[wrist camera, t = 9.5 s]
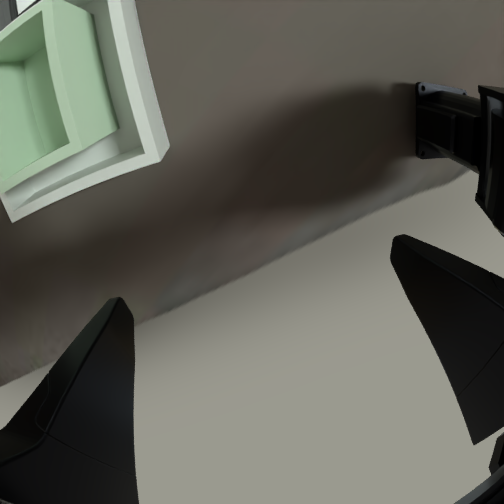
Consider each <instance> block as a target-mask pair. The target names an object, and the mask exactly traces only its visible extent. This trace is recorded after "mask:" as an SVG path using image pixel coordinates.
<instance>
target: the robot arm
mask: <svg viewBox="0 0 504 504" xmlns="http://www.w3.org/2000/svg"><path fill="white" fill-rule="evenodd" d="M421 86H422V90H421ZM415 90H416V156H417V157H418V158H420V159H432V158H450V159H452V160H454V161H456V162H458V163H459V164H461V165H463V166H465V167H467V168H468V169H470V170H472V171H474V172H476V173H477V174H479V181H478V190H477V193H476V196H475V201H476V202H477V204H478V205H479V206H480V207H481V208H482V209H483V211H484V212H485V214H486V215H487V216H488V218H489V219H490V220H491V221H492V223H493V225H494V227H495V228H496V229H497V230H498V231H499V232H500V233H501V235H502V236H503V237H504V88H500V87H492V86H483V85H478V92H479V93H480V99H477V98H474V97H470V96H467V92H466V91H465V90H463V89H458V88H453V87H448V86H443V85H437V84H431V83H424V82H417V83H416V86H415ZM421 151H422V153H421ZM390 260H391V264H392V266H393V268H394V270H395V272H396V274H397V276H398V278H399V280H400V282H401V284H402V287H403V289H404V291H405V294H406V295H407V298H408V300H409V301H410V303H411V305H412V307H413V309H414V311H415V312H416V314H417V316H418V318H419V320H420V322H421V323H422V325H423V327H424V329H425V331H426V333H427V335H428V337H429V339H430V340H431V343H432V345H433V347H434V348H435V351H436V353H437V355H438V357H439V359H440V361H441V363H442V366H443V368H444V370H445V372H446V374H447V376H448V379H449V381H450V383H451V386H452V388H453V391H454V393H455V396H456V398H457V401H458V403H459V406H460V409H461V411H462V414H463V417H464V419H465V422H466V425H467V428H468V431H469V434H470V437H471V440H472V443H473V445H475V444H477V443H479V442H481V441H482V440H484V439H485V438H487V437H489V436H490V435H492V434H493V433H495V432H496V431H498V430H499V429H501V428H502V427H504V278H502V277H500V276H498V275H496V274H494V273H492V272H489V271H487V270H485V269H483V268H481V267H479V266H477V265H474V264H473V263H471V262H469V261H466V260H464V259H462V258H459V257H458V256H455V255H453V254H451V253H449V252H446V251H444V250H441V249H439V248H437V247H435V246H432V245H430V244H427V243H425V242H423V241H420V240H418V239H415V238H413V237H411V236H408V235H405V234H402V235H398V236H395V237H394V239H393V242H392V248H391V254H390ZM134 373H135V345H134V318H133V315H132V313H131V311H130V310H129V308H128V306H127V305H126V303H125V301H124V300H123V299H122V298H121V297H116V298H111V299H109V300H108V301H107V302H106V304H105V305H104V306H103V307H102V308H101V309H100V310H99V311H98V313H97V314H96V315H95V316H94V317H93V318H92V319H91V321H90V322H89V323H88V324H87V325H86V326H85V328H84V329H83V330H82V331H81V332H80V334H79V335H78V336H77V337H76V338H75V340H74V341H73V342H72V343H71V344H70V346H69V347H68V348H67V349H66V351H65V352H64V353H63V354H62V356H61V357H60V358H59V359H58V361H57V362H56V363H55V364H54V366H53V367H52V368H51V370H50V371H49V373H48V374H47V375H46V376H45V377H44V379H43V380H42V382H41V383H40V384H39V386H38V387H37V388H36V389H35V391H34V392H33V393H32V394H31V395H30V397H29V398H28V399H27V401H26V402H25V403H24V404H23V405H22V406H21V408H20V409H19V410H18V411H17V413H16V414H15V415H14V416H13V418H12V419H11V420H10V421H9V423H8V424H7V425H6V426H5V427H4V428H3V429H1V430H0V504H139V500H138V491H137V480H136V476H135V475H136V471H135V455H134V421H133V420H134V419H133V409H134V406H133V405H134ZM489 470H490V472H491V476H490V477H489V478H488V479H486V480H485V481H484V482H483V483H481V484H480V485H479V486H478V487H476V488H475V489H474V490H472V491H471V492H470V493H468V494H467V495H466V496H464V497H463V498H461V499H460V500H458V501H457V502H455V503H454V504H504V432H503V433H502V434H501V435H500V436H499V437H498V438H497V440H496V444H495V448H494V452H493V455H492V458H491V461H490V465H489Z"/></svg>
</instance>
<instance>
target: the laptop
mask: <svg viewBox="0 0 504 504" xmlns="http://www.w3.org/2000/svg"><path fill="white" fill-rule="evenodd" d="M40 1H41V0H0V31H2V30H3V29H4V28H5V27H6V26H7V25H9V24H10V23H11V22H12V21H14V20H15V19H16V18H17V17H19V16H20V15H21V14H23V13H24V12H25V11H27V10H28V9H29V8H31V7H32V6H34V5H35V4H37V3H38V2H40Z"/></svg>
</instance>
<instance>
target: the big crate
mask: <svg viewBox="0 0 504 504" xmlns="http://www.w3.org/2000/svg"><path fill="white" fill-rule="evenodd" d="M42 1H43V0H41V1H40V2H42ZM64 1H66V2H68V3H70V4H73V5H75V6H77V7H79V8H81V9H83V10H85V11H87V12H89V13H91V14H93V15H94V18H95V24H96V30H97V35H98V41H99V46H100V51H101V56H102V60H103V65H104V69H105V73H106V78H107V82H108V86H109V90H110V94H111V98H112V101H113V105H114V109H115V112H116V116H117V120H118V123H119V126H120V129H118V130H116V131H114V132H113V133H111V134H109V135H107V136H105V137H104V138H102V139H100V140H99V141H97V142H95V143H94V144H92V145H90V146H89V147H87V148H86V149H84V150H82V151H80V152H78V153H75V154H73V155H71V156H69V157H67V158H65V159H63V160H61V161H59V162H57V163H55V164H53V165H51V166H49V167H47V168H45V169H44V170H42V171H40V172H38V173H36V174H34V175H33V176H31V177H29V178H27V179H26V180H24V181H22V182H21V183H19V184H17V185H16V186H14V187H13V188H11V189H9V190H8V191H6V192H5V193H3V194H2V195H1V192H0V198H1V200H2V202H3V205H4V207H5V209H6V211H7V213H8V215H9V218H10V220H11V222H12V223H13V222H15V221H17V220H19V219H21V218H23V217H25V216H26V215H28V214H30V213H32V212H34V211H36V210H38V209H40V208H42V207H45V206H47V205H49V204H51V203H53V202H55V201H57V200H60V199H62V198H64V197H66V196H68V195H71V194H73V193H75V192H78V191H80V190H83V189H85V188H87V187H90V186H92V185H95V184H97V183H100V182H102V181H105V180H108V179H110V178H113V177H116V176H118V175H121V174H124V173H127V172H130V171H133V170H135V169H138V168H141V167H144V166H148V165H151V164H154V163H157V162H160V161H161V160H162V158H163V156H164V155H165V153H166V152H167V150H168V148H169V147H170V144H169V141H168V137H167V134H166V130H165V127H164V123H163V119H162V116H161V112H160V108H159V105H158V101H157V97H156V93H155V89H154V85H153V81H152V77H151V73H150V69H149V65H148V61H147V57H146V52H145V48H144V43H143V39H142V34H141V30H140V25H139V20H138V15H137V10H136V5H135V0H64ZM40 2H38V3H37V4H39V3H40ZM37 4H35V5H34V6H36V5H37ZM34 6H32V7H31V8H29V9H28V10H27V11H29V10H30V9H32V8H33V7H34ZM27 11H25V12H24V13H23V14H25V13H26V12H27ZM23 14H21V15H20V16H19V17H21V16H22V15H23ZM19 17H17V18H16V19H15V20H17V19H18V18H19ZM15 20H14V21H15ZM14 21H12V22H11V23H10V24H12V23H13V22H14ZM10 24H9V25H10ZM9 25H7V26H6V27H5V28H7V27H8V26H9ZM5 28H4V29H5ZM4 29H3V30H4ZM3 30H2V31H3ZM2 31H0V33H1V32H2Z"/></svg>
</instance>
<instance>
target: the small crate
mask: <svg viewBox="0 0 504 504" xmlns="http://www.w3.org/2000/svg"><path fill="white" fill-rule="evenodd" d="M118 129H120V126H119V123H118V120H117V116H116V112H115V109H114V105H113V101H112V98H111V94H110V90H109V86H108V82H107V78H106V73H105V69H104V65H103V60H102V56H101V51H100V46H99V41H98V35H97V30H96V24H95V18H94V15H93V14H91V13H89V12H87V11H85V10H83V9H81V8H79V7H77V6H75V5H73V4H70V3H68V2H66V1H64V0H43V1H42V2H40V3H39V4H37V5H36V6H34V7H33V8H32V9H30V10H29V11H27V12H26V13H25V14H23V15H22V16H21V17H19V18H18V19H17V20H15V21H14V22H13V23H12V24H10V25H9V26H8V27H7V28H5V29H4V30H3V31H2V32H1V33H0V192H1V195H2V194H3V193H5V192H6V191H8V190H9V189H11V188H13V187H14V186H16V185H17V184H19V183H21V182H22V181H24V180H26V179H27V178H29V177H31V176H33V175H34V174H36V173H38V172H40V171H42V170H44V169H45V168H47V167H49V166H51V165H53V164H55V163H57V162H59V161H61V160H63V159H65V158H67V157H69V156H71V155H73V154H75V153H78V152H80V151H82V150H84V149H86V148H87V147H89V146H90V145H92V144H94V143H95V142H97V141H99V140H100V139H102V138H104V137H105V136H107V135H109V134H111V133H113V132H114V131H116V130H118Z"/></svg>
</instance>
